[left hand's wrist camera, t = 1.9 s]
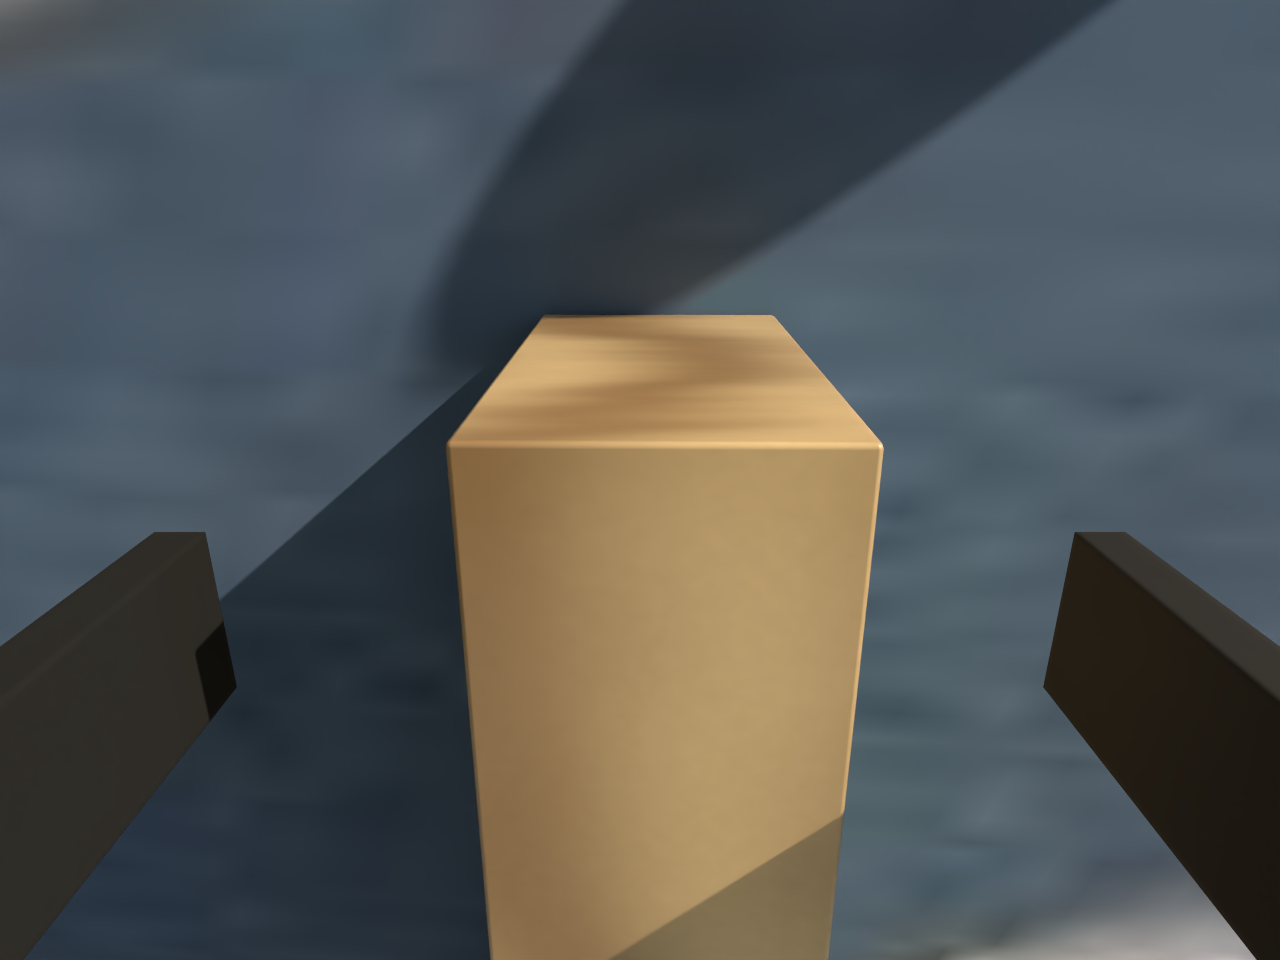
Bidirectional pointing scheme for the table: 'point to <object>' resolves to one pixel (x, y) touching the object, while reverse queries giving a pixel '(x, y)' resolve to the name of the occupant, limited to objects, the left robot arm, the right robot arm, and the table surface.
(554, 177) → the table surface
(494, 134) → the table surface
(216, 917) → the table surface
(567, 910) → the oak plank
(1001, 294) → the table surface
